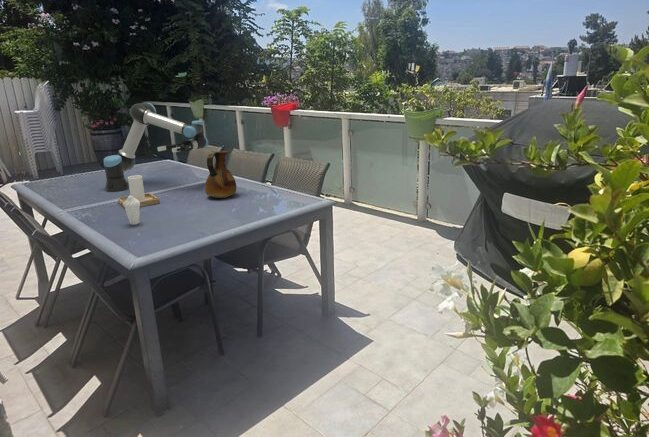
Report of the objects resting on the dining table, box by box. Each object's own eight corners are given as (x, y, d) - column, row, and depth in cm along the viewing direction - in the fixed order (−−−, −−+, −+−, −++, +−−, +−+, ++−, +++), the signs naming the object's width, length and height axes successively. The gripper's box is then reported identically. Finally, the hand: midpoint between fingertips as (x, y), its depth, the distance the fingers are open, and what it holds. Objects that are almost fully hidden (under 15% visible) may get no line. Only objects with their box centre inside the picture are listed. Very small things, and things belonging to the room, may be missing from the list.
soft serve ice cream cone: (129, 221, 250) (124, 193, 245) (145, 220, 251) (140, 192, 246) (124, 226, 242) (119, 197, 237) (140, 225, 243) (135, 196, 238)
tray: (118, 202, 288) (117, 198, 287) (150, 197, 299) (150, 192, 298) (126, 209, 273) (125, 204, 272) (159, 203, 284) (159, 198, 283)
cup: (140, 203, 281) (136, 178, 276) (128, 203, 283) (124, 178, 278) (148, 200, 289) (144, 175, 284) (136, 199, 290) (132, 175, 286)
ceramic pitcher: (243, 194, 301) (239, 149, 292) (224, 201, 284) (219, 154, 275) (219, 191, 309) (214, 147, 300) (199, 199, 292) (194, 152, 283)
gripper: (203, 151, 309) (179, 156, 291) (177, 149, 321) (152, 154, 304) (201, 140, 307) (177, 145, 289) (175, 139, 319) (151, 143, 301)
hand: (165, 149), depth 296 cm, fingers open, 13 cm apart
